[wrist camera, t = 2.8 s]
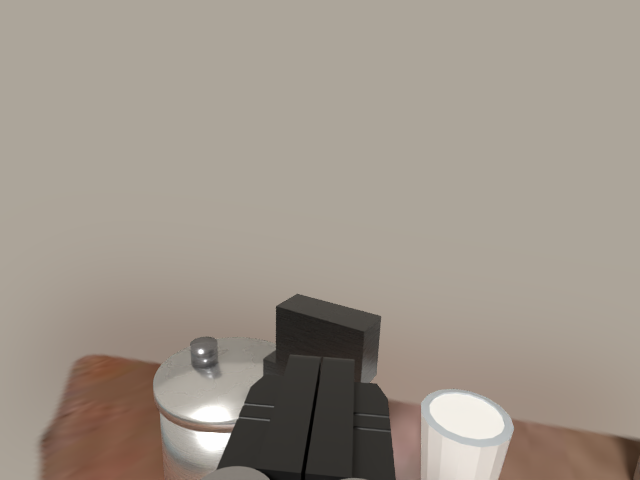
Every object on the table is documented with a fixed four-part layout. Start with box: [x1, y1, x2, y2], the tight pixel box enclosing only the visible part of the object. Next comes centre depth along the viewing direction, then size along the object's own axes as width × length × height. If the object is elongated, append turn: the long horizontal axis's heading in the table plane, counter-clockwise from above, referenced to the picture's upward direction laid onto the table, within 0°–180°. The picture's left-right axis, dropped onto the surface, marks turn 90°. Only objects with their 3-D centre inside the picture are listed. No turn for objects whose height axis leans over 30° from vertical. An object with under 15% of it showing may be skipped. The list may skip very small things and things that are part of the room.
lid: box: [153, 294, 381, 433], centre depth 30 cm, size 16×11×8 cm, turn 60°
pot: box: [160, 413, 232, 480], centre depth 34 cm, size 15×10×9 cm, turn 85°
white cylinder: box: [421, 389, 514, 480], centre depth 35 cm, size 7×7×7 cm
